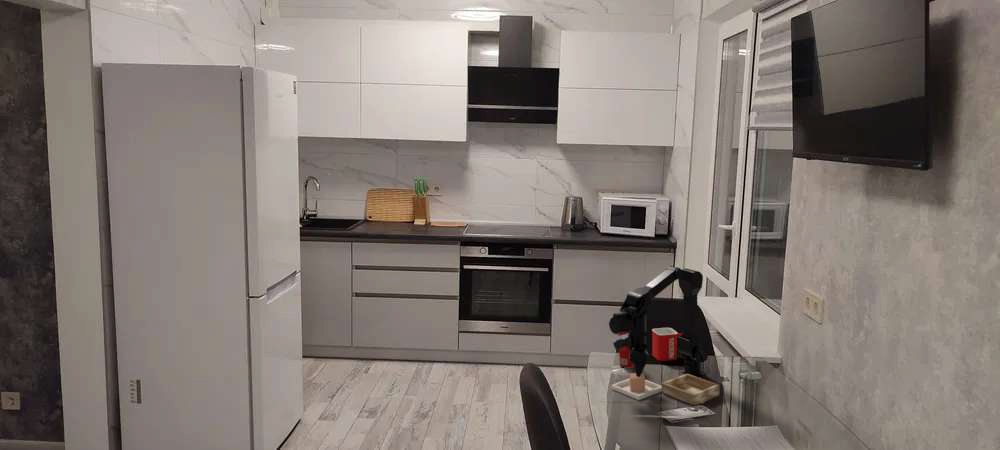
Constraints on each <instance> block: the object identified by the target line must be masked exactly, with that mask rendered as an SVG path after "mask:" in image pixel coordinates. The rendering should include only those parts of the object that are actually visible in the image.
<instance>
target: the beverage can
mask: <svg viewBox="0 0 1000 450" xmlns="http://www.w3.org/2000/svg"><path fill="white" fill-rule="evenodd" d="M624 334H628V331H627V332H623V333H619V334H617V337H618V336H621V335H624ZM629 351H630V349H629V348H628V346H627V347H624V348H621V349H620V350H618V357H619V366H620V367H621V366H622V367H624V368H623V369H633V368H635V366H634V363H632V362H631V361H630V360H629ZM622 367H621V368H622Z"/></svg>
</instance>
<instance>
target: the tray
mask: <svg viewBox="0 0 1000 450" xmlns="http://www.w3.org/2000/svg"><path fill="white" fill-rule="evenodd" d="M610 389H611V390H613V391H615V392H617V393H620V394H622V395H625V396H627V397H630V398H632V399H635V400H637V401H640V400H643V399H645V398H647V397H651V396H653V395H655V394H658V393H661V385H660V384H658V383H655V382H653V381H649V380H647V379H645V392H644V393H639V392H630V377H629V378H627V379H624V380H620V381H618V382H616V383H614V384H611V387H610Z"/></svg>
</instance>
